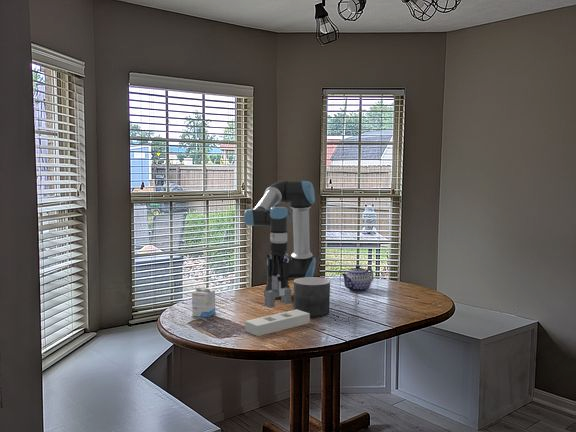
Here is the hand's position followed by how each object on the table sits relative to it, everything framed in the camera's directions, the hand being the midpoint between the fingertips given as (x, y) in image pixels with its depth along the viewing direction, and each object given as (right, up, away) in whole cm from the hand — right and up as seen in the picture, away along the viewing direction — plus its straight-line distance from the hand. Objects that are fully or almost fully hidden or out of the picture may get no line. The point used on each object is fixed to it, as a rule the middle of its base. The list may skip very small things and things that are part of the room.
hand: (278, 294), depth 231 cm
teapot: (+45, -9, +73) cm, 86 cm away
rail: (0, -15, +2) cm, 15 cm away
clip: (0, -5, 0) cm, 5 cm away
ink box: (-36, -13, +21) cm, 44 cm away
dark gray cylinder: (+16, -13, +26) cm, 33 cm away
